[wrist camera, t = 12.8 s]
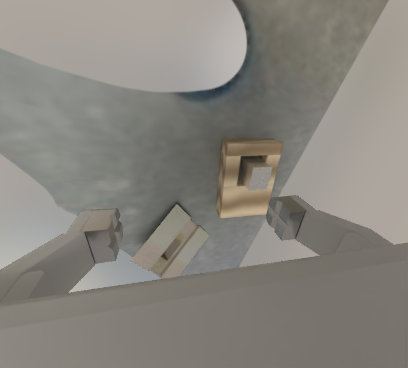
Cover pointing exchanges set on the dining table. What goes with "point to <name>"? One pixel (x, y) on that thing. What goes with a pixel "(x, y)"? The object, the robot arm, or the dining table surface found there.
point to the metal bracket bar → (254, 173)
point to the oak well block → (230, 183)
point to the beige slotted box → (171, 245)
